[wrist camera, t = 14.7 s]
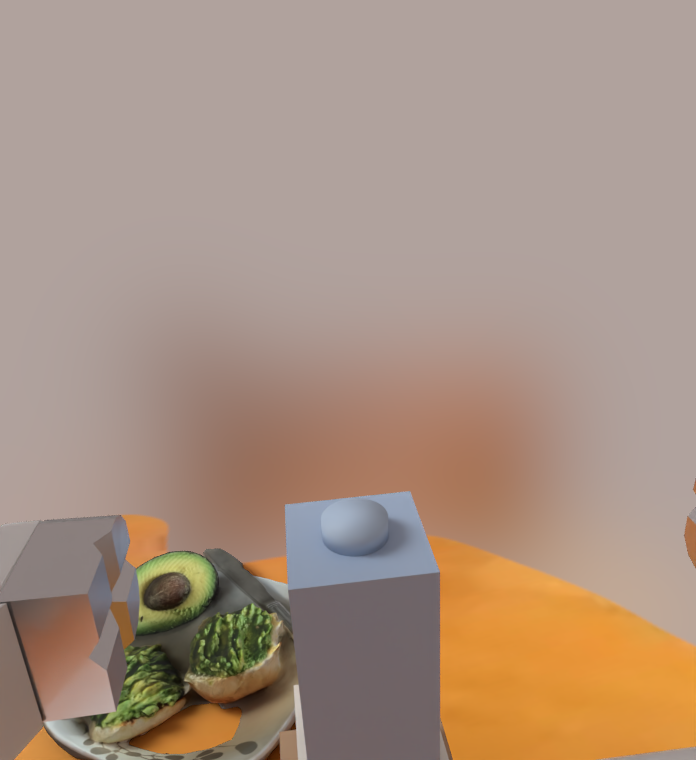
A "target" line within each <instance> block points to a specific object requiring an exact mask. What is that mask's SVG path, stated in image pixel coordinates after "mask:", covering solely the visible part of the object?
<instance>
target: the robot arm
mask: <svg viewBox="0 0 696 760" xmlns="http://www.w3.org/2000/svg"><path fill="white" fill-rule="evenodd" d="M693 490H694V492H695V494H696V480H695V484H694V488H693ZM684 536H685V541H686V546H687V551H688V555H689V557H690V559H691V560H692V562H693V564H694V566H695V568H696V507H695V508H694V509H693V511H692V512H691V513H690V514H689V515H688V516H687V523H686V529H685V535H684ZM129 544H130V538H129V534H128V530H127V526H126V521H125V520H124V519H123V517H122V516H121V515H112V516H98V517H83V518H69V519H53V520H44V521H41V520H37V521H28V522H27V521H26V522H17V523H6V524H3V525H1V526H0V760H14V759H15V758H16V757H17V756H18V754H19V753H20V752H21V751H22V750H23V749H24V748H25V747H26V746H27V744H28V743H29V742H30V741H31V740H32V739H33V738H34V737H35V735H36V734H37V733H38V732H39V731H40V730H41V729H42V728H43V726H44V725H43V722H48V721H55V720H62V719H69V718H76V717H83V716H90V715H97V714H104V713H111V712H116V711H117V707H118V703H119V699H120V695H121V691H122V687H123V683H124V679H125V675H126V672H127V668H128V667H127V663H126V658H125V653H124V649H125V648H126V647H128V646H129V645H130V644H131V643H132V642H133V641H134V639H135V635H136V630H137V626H138V619H139V605H140V597H139V584H138V578H137V573H136V568H135V567H133V566H132V565H131V564H130V563H129V562H128V561H126V560H125V557H126V554H127V551H128V547H129ZM597 760H696V747H690V748H682V749H674V750H667V751H659V752H651V753H644V754H636V755H628V756H620V757H613V758H605V759H597Z"/></svg>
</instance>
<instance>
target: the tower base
mask: <svg viewBox="0 0 696 760" xmlns="http://www.w3.org/2000/svg"><path fill="white" fill-rule="evenodd" d="M294 701H295V717H296V730H290V731H283V732H279V734H280V760H307V754H306V745H305V736H304V728H303V719H302V710H301V701H300V692H299V685H294ZM440 760H453V759H452V755H451V752H450V749H449V745H448V742H447V738H446V735H445V732H444V728H443V725H442V722H441V718H440Z"/></svg>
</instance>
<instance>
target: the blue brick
mask: <svg viewBox="0 0 696 760" xmlns="http://www.w3.org/2000/svg"><path fill="white" fill-rule="evenodd" d="M285 520H286V547H287V575H288V594H289V603H290V612H291V621H292V629H293V638H294V647H295V656H296V665H297V674H298V683H299V692H300V701H301V710H302V719H303V728H304V736H305V745H306V754H307V760H440V571H439V569H438V566H437V563H436V560H435V558H434V555H433V552H432V550H431V547H430V544H429V542H428V539H427V536H426V533H425V531H424V528H423V525H422V523H421V520H420V517H419V515H418V512H417V509H416V507H415V504H414V501H413V498H412V496H411V493H410V491H408V492H399V493H390V494H381V495H371V496H361V497H353V498H343V499H334V500H324V501H315V502H306V503H296V504H287V505H285Z"/></svg>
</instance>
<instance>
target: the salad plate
mask: <svg viewBox="0 0 696 760" xmlns="http://www.w3.org/2000/svg"><path fill="white" fill-rule="evenodd" d="M136 573H137V578H138V584H139V597H140V605H139V619H138V626H137V630H136V635H135V639H134V641H133V642H132V643H131V644H130V645H129V646H128V647H126V648H125V649H124V653H125V658H126V663H127V667H128V668H127V672H126V675H125V679H124V683H123V687H122V691H121V695H120V699H119V703H118V707H117V711H116V712H111V713H104V714H97V715H90V716H83V717H76V718H69V719H62V720H55V721H48V722H43V725H44V728H45V729H46V731H47V733H48V734H49V735H50V737H52V738H53V739H54V741H55V742H56V743H57V744H58V745H59V746H60V747H61V748H62V749H64V750H65V751H66V752H68V753H69V754H70V755H72V756H74V757H76V758H78V759H81V760H265V759H266V758H267V757H268V756H269V754H270V753H271V752H272V751H273V750H274V749H275V748H276V747H277V746H278V744H279V743H280V734H279V732H283V731H289V730H290V728H291V727H292V725H293V724H294V722H295V721H296V717H295V701H294V685H299V683H298V674H297V665H296V656H295V647H294V638H293V629H292V621H291V612H290V603H289V594H288V584H285V583H281V582H276V581H273V580H270V579H266V578H262V577H257V576H253V575H252V574H250V573H249V571H247V570H245V569H244V568H243V564H242V563H241V562H240V561H238V560H237V559H236V558H235V557H234V556H232V555H231V554H229V553H227V552H226V551H224V550H222V549H206V550H205V551H204V552H203V556H202V555H200V554H197V553H194V552H191V551H175V552H168V553H166V554H163V555H160V556H157V557H154V558H153V559H151V560H149V561H147V562H145V563H144V564H142V565H140V566H139V567H138V568H136ZM208 703H218V704H219V705H220V707H221V708H223V709H227V708H233V707H239V708H240V709H242V716H241V718H240V723H239V726H238V728H237V730H236V733H235V735H234V737H233V738H232V740H230V741H227V742H225V743H223V744H220V745H218V746H216V747H213V748H210V749H207V750H202V751H196V752H191V753H187V754H167V753H166V754H159V753H155V752H151V751H148V750H144V749H140V748H137V747H134V746H131V745H130V744H129V741H130V740H131V739H132V738H134V737H136V736H139V735H144V734H145V733H147V732H148V731H150V730H151V729H152V728H154V727H156V726H158V725H160V724H161V723H163V722H164V721H166V720H167V719H169V718H170V717H171V716H173V715H174V714H176V713H178V712H180V711H182V710H184V709H185V708H187V707H189V706H191V705H200V704H208Z"/></svg>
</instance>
